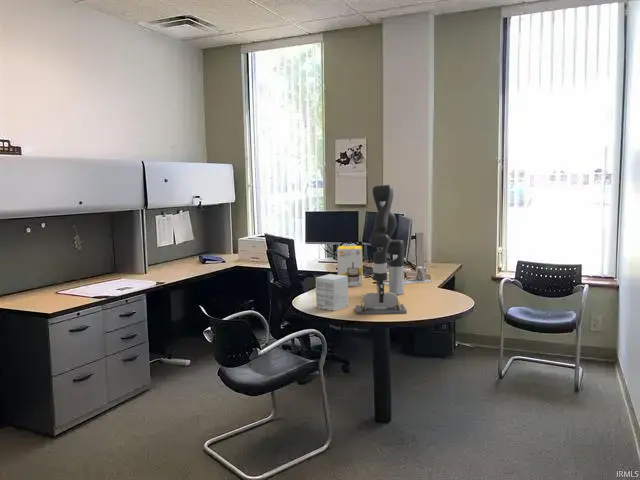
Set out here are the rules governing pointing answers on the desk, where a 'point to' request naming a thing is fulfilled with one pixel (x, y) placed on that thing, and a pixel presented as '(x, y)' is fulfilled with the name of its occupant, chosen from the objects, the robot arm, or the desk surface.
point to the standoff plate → (380, 309)
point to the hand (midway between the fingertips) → (380, 300)
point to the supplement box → (332, 292)
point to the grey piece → (373, 300)
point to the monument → (419, 277)
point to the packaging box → (350, 264)
